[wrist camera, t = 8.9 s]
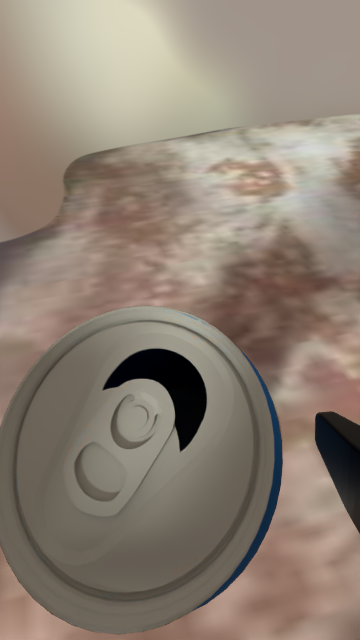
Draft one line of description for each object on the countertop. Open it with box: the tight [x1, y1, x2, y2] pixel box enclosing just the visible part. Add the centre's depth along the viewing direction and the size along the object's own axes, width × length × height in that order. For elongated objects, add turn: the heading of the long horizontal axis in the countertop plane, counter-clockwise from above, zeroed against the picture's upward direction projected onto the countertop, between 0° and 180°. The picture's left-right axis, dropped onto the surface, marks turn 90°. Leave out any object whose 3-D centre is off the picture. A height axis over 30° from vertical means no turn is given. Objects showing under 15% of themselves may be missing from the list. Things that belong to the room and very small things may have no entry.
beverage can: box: [0, 306, 283, 634], centre depth 10 cm, size 6×6×12 cm
